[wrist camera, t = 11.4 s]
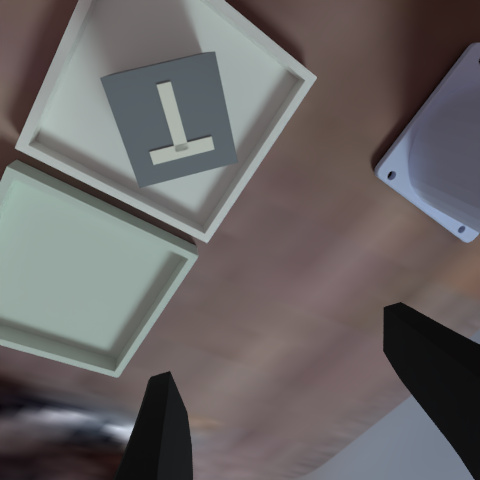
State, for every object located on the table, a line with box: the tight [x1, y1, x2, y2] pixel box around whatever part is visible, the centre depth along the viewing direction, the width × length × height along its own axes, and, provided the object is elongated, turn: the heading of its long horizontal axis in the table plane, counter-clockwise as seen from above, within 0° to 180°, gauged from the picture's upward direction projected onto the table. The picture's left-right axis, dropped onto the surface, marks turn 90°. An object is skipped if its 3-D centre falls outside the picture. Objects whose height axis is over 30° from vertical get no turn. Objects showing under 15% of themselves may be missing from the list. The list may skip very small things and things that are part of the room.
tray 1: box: [15, 0, 317, 243], centre depth 16 cm, size 10×10×1 cm
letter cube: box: [100, 51, 238, 188], centre depth 15 cm, size 4×4×4 cm
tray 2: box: [0, 159, 199, 378], centre depth 19 cm, size 10×10×1 cm
